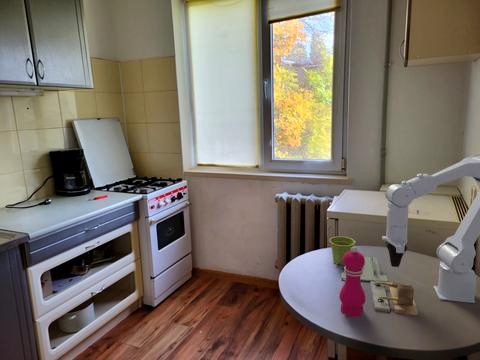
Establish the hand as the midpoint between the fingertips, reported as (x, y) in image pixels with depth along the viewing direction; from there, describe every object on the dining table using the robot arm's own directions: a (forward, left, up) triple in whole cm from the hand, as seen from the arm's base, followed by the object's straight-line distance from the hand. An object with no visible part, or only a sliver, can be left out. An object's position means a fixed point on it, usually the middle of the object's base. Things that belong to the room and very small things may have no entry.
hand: (394, 265), depth 108 cm
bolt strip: (+4, +2, -10) cm, 11 cm away
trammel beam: (0, +2, -10) cm, 10 cm away
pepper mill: (+13, +12, -10) cm, 20 cm away
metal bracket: (+8, -13, -10) cm, 19 cm away
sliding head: (0, +7, -8) cm, 11 cm away
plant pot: (+16, -21, -10) cm, 28 cm away
